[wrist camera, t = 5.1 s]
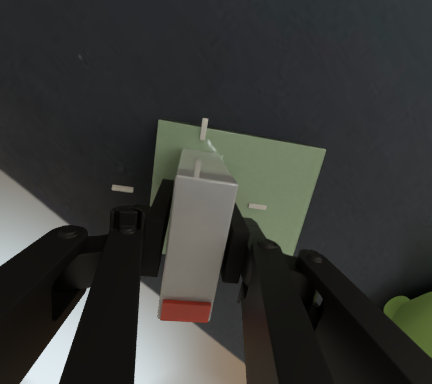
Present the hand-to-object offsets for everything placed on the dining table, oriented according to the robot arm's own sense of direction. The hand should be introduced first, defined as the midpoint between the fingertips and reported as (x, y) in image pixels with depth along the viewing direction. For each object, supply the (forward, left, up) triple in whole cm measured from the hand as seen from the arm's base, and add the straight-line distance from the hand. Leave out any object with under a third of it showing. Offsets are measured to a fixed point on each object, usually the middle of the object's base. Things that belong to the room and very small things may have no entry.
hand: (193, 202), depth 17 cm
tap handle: (0, 0, -1) cm, 1 cm away
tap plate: (+2, 0, -4) cm, 4 cm away
